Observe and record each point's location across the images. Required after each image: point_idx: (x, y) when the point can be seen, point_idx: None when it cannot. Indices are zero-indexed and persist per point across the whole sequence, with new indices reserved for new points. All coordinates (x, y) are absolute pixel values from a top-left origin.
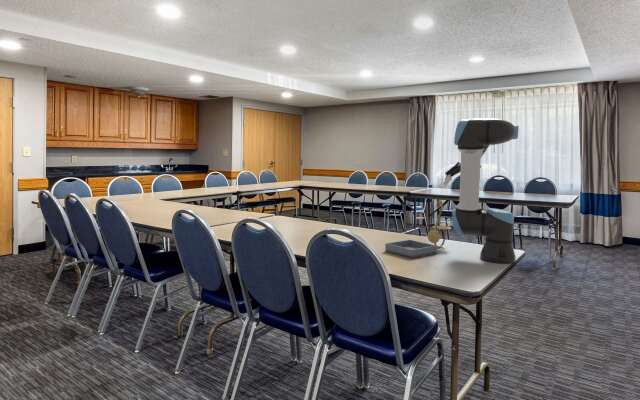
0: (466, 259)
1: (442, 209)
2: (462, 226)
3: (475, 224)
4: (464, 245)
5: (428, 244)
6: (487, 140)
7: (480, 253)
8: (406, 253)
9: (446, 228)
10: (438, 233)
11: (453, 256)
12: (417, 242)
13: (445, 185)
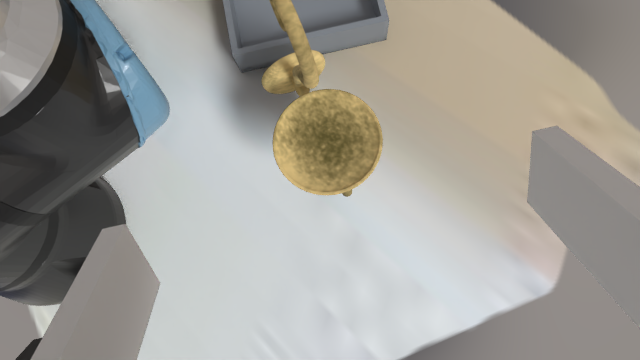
0: None
1: (304, 83)
2: (57, 47)
3: None
4: (326, 312)
5: (273, 41)
6: None
7: (103, 186)
8: None
9: (320, 171)
10: (264, 73)
11: (178, 104)
12: (336, 28)
13: (531, 180)
